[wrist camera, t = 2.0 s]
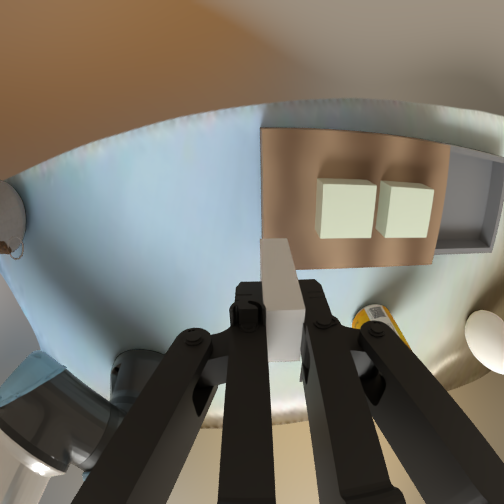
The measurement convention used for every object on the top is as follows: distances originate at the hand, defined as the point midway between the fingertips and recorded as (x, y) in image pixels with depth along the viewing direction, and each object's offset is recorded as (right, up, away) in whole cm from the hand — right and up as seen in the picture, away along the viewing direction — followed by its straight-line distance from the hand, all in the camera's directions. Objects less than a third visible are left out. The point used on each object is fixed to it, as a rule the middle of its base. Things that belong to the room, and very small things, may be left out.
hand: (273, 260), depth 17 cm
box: (+27, +8, +16) cm, 32 cm away
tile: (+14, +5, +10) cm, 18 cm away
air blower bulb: (+39, -11, +25) cm, 48 cm away
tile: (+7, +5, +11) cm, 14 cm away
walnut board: (+10, +8, +16) cm, 20 cm away
